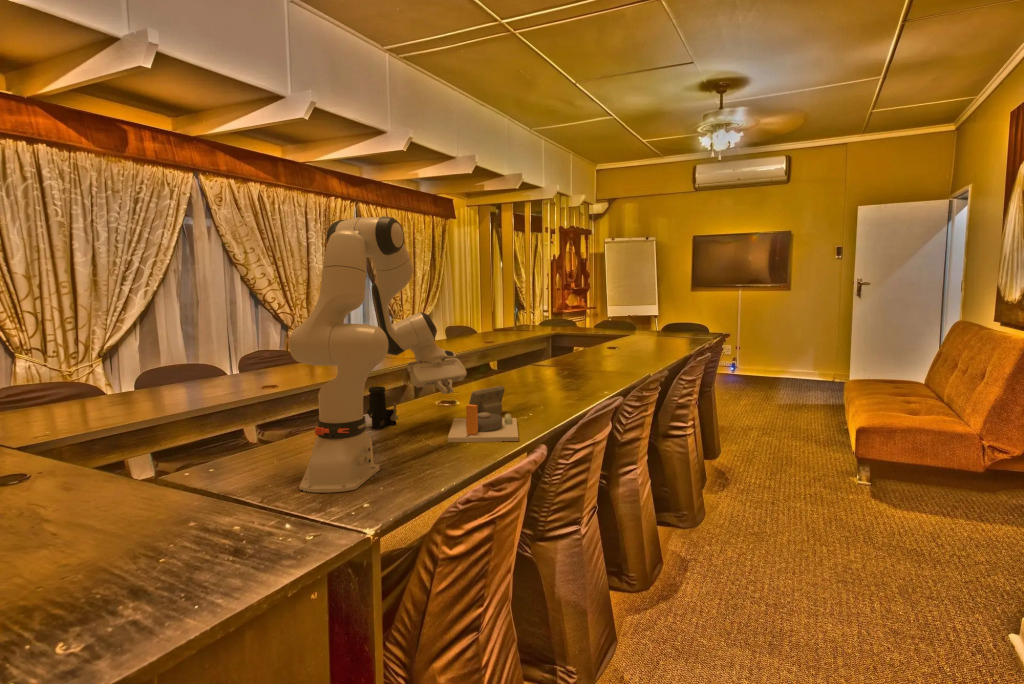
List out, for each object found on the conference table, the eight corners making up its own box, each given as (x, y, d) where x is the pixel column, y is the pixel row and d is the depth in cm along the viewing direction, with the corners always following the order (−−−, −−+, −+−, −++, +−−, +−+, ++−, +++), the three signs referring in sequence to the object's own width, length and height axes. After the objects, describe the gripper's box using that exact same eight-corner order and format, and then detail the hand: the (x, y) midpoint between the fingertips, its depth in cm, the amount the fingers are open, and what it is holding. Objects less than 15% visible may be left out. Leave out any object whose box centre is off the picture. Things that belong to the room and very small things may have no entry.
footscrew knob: (475, 420, 189) (475, 394, 188) (507, 423, 185) (507, 397, 184) (453, 432, 174) (453, 404, 173) (488, 435, 170) (487, 407, 169)
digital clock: (498, 410, 211) (497, 383, 210) (511, 415, 204) (511, 387, 203) (461, 416, 202) (460, 388, 201) (473, 421, 195) (473, 392, 194)
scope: (397, 385, 189) (380, 391, 180) (398, 424, 191) (381, 431, 182) (377, 384, 192) (360, 389, 183) (379, 422, 194) (361, 429, 185)
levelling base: (518, 441, 170) (518, 429, 169) (447, 442, 169) (447, 430, 169) (516, 422, 194) (516, 411, 193) (454, 422, 193) (454, 411, 193)
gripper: (408, 357, 177) (425, 391, 171) (458, 351, 191) (476, 382, 185) (401, 369, 181) (418, 402, 175) (450, 362, 195) (468, 393, 189)
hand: (448, 392), depth 180 cm, fingers closed
